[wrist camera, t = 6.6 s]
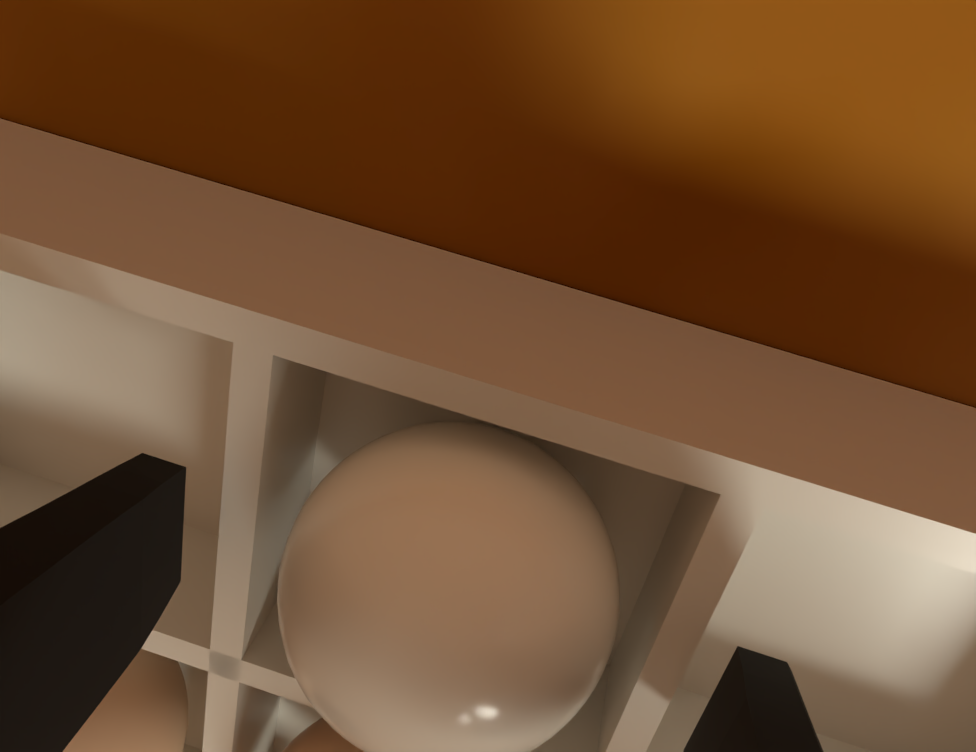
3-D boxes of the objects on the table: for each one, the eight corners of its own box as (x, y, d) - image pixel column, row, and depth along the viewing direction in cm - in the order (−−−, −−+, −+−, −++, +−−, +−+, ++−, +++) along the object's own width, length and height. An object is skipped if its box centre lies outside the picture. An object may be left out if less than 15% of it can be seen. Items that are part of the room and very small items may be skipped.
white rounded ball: (674, 417, 13) (657, 657, 9) (584, 635, 15) (541, 897, 11) (370, 322, 13) (230, 516, 9) (327, 550, 15) (202, 779, 12)
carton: (1210, 477, 12) (1477, 835, 8) (833, 947, 19) (863, 1285, 14) (-46, 104, 14) (-411, 230, 9) (7, 659, 20) (-195, 887, 16)
